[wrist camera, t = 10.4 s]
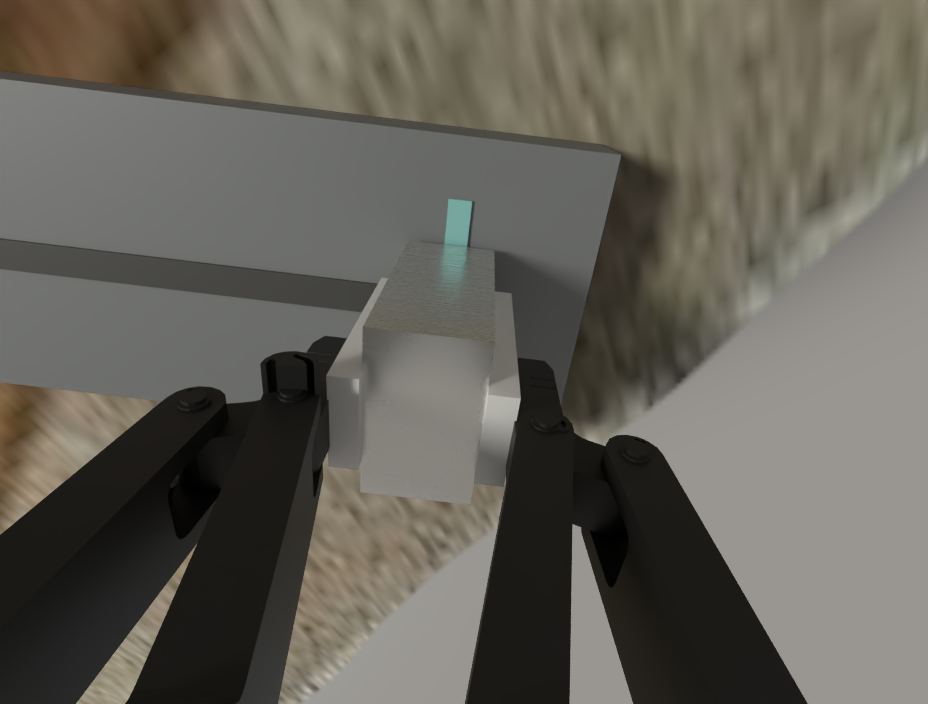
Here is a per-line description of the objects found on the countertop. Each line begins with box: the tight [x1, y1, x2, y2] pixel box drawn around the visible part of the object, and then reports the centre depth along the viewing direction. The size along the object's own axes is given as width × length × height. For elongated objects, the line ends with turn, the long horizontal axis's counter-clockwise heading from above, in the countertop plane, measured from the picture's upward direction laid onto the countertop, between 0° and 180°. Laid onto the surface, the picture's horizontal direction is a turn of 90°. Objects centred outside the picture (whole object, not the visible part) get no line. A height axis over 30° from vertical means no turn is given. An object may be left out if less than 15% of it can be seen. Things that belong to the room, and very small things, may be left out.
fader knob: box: [360, 240, 495, 505], centre depth 16 cm, size 3×5×7 cm, turn 174°
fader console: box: [0, 71, 621, 404], centre depth 20 cm, size 28×12×3 cm, turn 84°
